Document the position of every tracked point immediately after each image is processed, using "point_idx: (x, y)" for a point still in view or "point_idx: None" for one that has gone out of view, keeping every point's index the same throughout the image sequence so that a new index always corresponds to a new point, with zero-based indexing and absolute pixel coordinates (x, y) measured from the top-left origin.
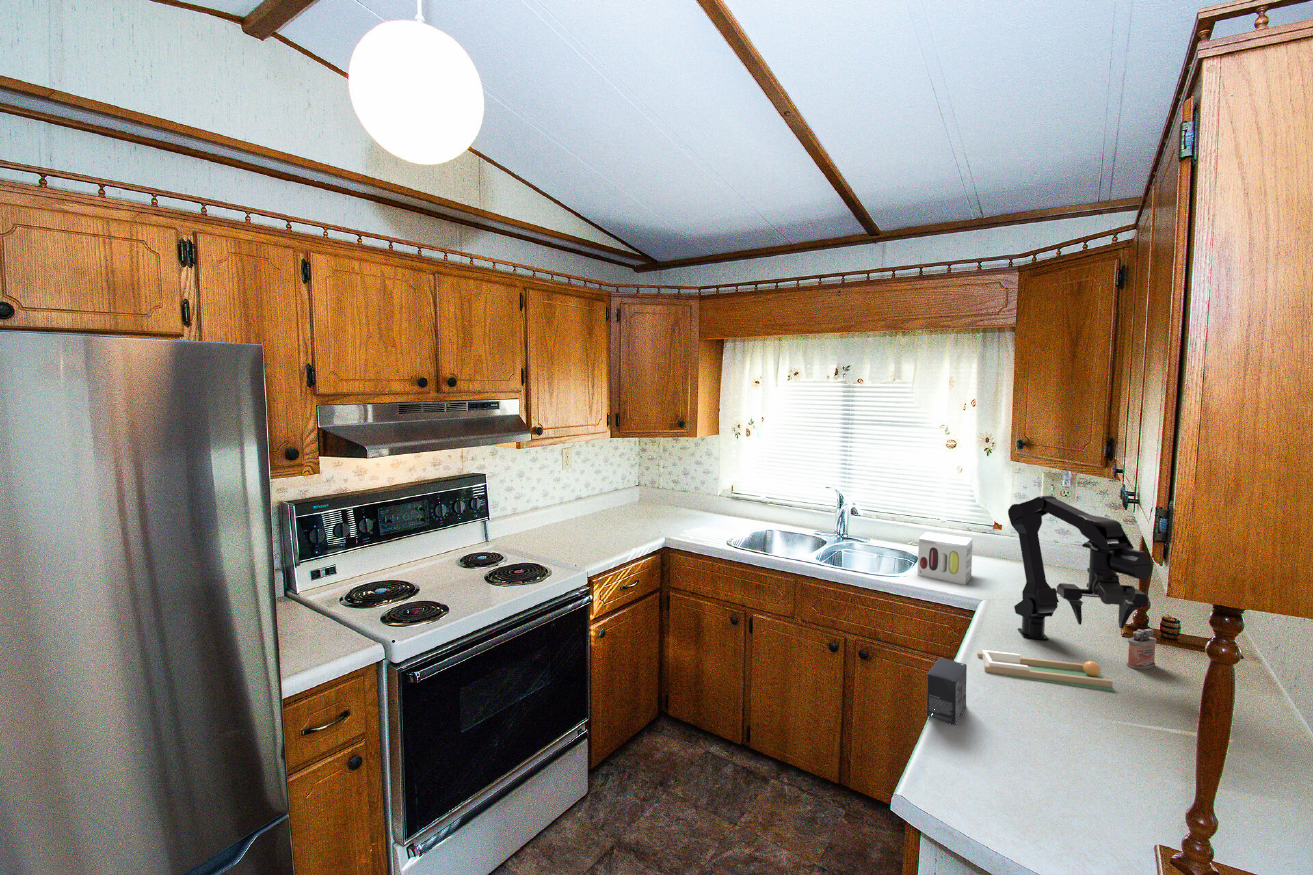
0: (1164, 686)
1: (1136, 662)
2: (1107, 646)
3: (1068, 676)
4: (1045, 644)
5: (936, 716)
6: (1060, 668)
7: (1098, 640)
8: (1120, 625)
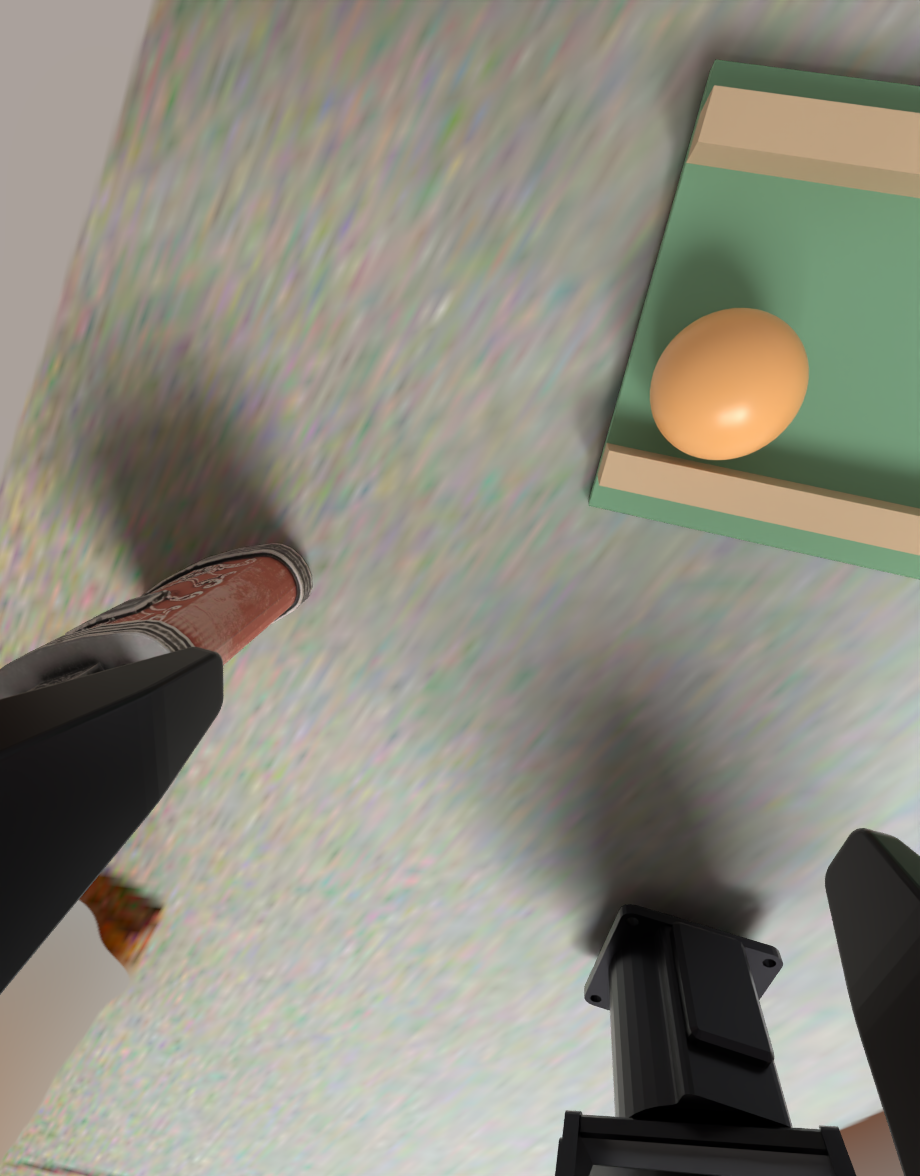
0: (220, 283)
1: (250, 566)
2: (284, 826)
3: None
4: (641, 878)
5: None
6: (902, 502)
7: (293, 886)
8: (192, 695)
